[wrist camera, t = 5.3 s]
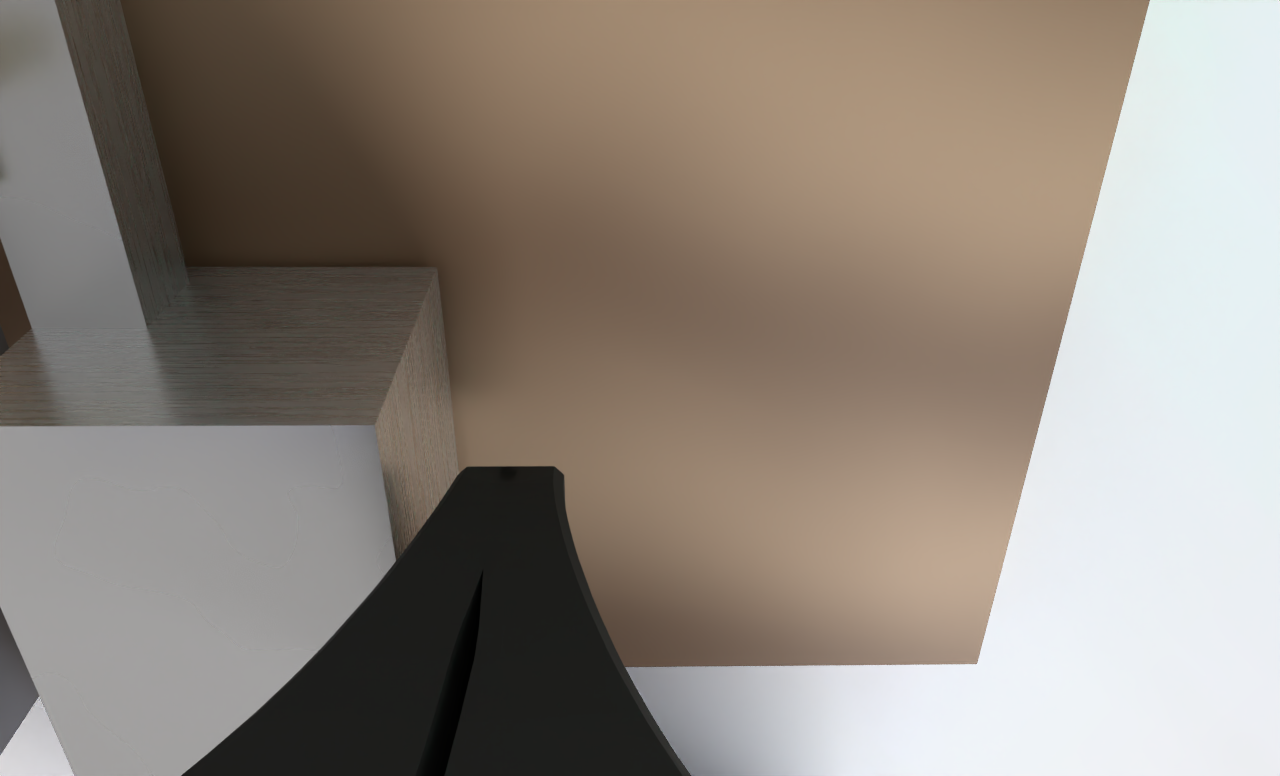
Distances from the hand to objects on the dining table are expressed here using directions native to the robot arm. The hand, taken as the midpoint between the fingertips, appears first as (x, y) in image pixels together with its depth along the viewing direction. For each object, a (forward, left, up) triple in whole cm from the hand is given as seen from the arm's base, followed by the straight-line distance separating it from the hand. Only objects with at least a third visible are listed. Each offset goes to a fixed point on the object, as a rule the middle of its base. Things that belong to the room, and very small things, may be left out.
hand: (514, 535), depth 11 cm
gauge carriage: (+2, +3, -2) cm, 4 cm away
